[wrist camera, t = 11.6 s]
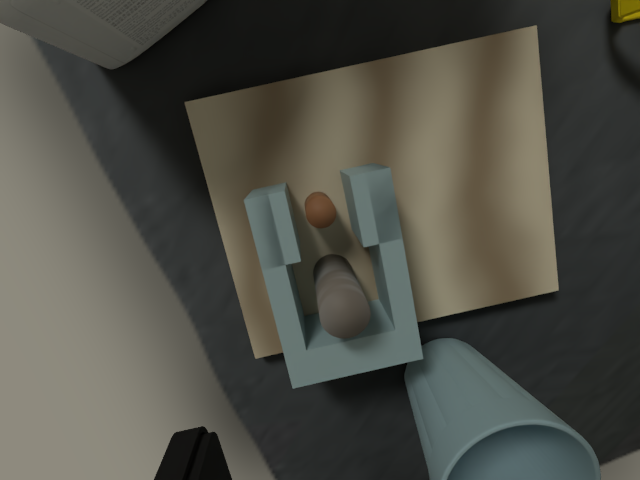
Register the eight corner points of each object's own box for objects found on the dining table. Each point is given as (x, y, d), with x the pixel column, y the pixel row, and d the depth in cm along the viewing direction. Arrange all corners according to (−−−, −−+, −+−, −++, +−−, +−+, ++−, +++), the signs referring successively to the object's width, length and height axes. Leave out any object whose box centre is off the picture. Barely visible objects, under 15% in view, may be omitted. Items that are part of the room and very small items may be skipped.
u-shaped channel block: (402, 323, 27) (423, 358, 23) (292, 348, 27) (292, 388, 23) (373, 162, 25) (390, 167, 20) (252, 189, 25) (243, 200, 20)
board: (525, 30, 25) (626, -18, 17) (547, 284, 28) (638, 335, 21) (189, 104, 24) (143, 87, 17) (257, 349, 28) (243, 425, 21)
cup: (505, 323, 29) (618, 422, 19) (488, 421, 31) (584, 561, 20) (395, 320, 28) (451, 420, 18) (385, 420, 30) (430, 562, 20)
